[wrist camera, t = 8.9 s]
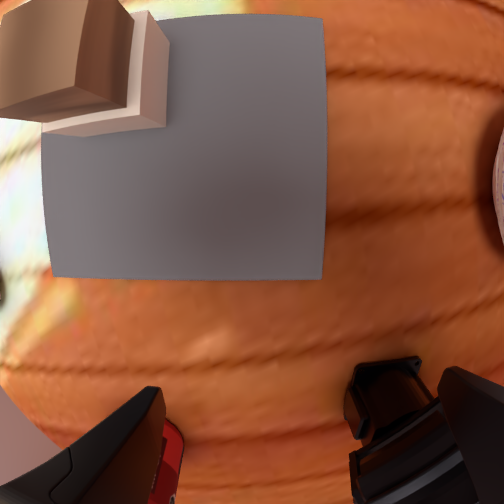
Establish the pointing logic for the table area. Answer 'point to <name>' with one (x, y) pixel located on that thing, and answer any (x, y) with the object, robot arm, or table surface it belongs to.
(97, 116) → the cream block
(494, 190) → the paper bowls
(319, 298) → the table surface
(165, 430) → the canned food
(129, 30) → the walnut block
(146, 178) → the build mat
